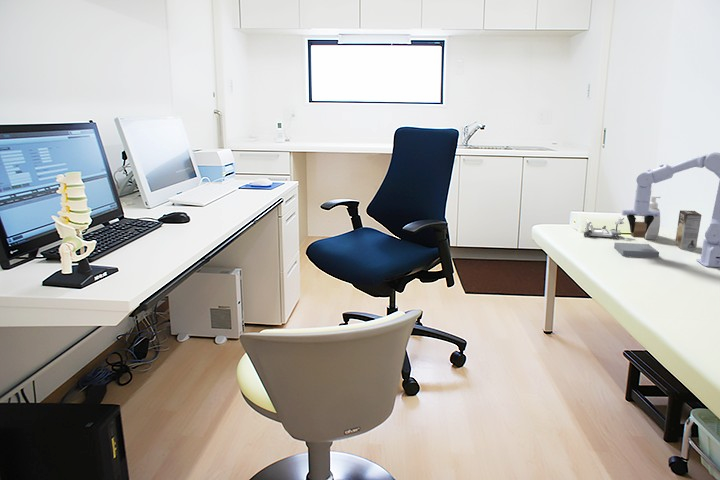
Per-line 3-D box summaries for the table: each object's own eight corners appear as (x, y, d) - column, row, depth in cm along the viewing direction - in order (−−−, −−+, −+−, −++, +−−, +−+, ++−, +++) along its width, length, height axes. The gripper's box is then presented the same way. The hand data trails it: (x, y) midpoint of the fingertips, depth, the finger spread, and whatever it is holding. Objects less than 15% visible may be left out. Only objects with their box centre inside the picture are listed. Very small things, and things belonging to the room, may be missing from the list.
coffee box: (674, 244, 258) (679, 210, 254) (689, 245, 257) (694, 210, 253) (680, 249, 249) (686, 213, 245) (696, 250, 248) (702, 214, 244)
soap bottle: (658, 241, 264) (664, 199, 259) (646, 240, 265) (651, 198, 260) (651, 234, 279) (656, 194, 274) (639, 233, 280) (644, 193, 275)
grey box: (658, 259, 235) (659, 252, 234) (622, 257, 237) (623, 250, 237) (647, 250, 248) (648, 244, 248) (613, 249, 251) (614, 242, 250)
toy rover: (624, 215, 274) (626, 220, 264) (621, 235, 277) (624, 240, 266) (584, 213, 280) (585, 217, 269) (582, 232, 282) (583, 237, 272)
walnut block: (645, 237, 238) (646, 224, 237) (633, 237, 239) (635, 223, 238) (641, 235, 243) (643, 221, 241) (630, 234, 243) (632, 221, 242)
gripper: (657, 200, 240) (653, 231, 243) (621, 198, 242) (617, 229, 246) (663, 202, 233) (658, 234, 236) (626, 201, 236) (622, 233, 239)
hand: (638, 232), depth 240 cm, fingers closed on walnut block, 4 cm apart
